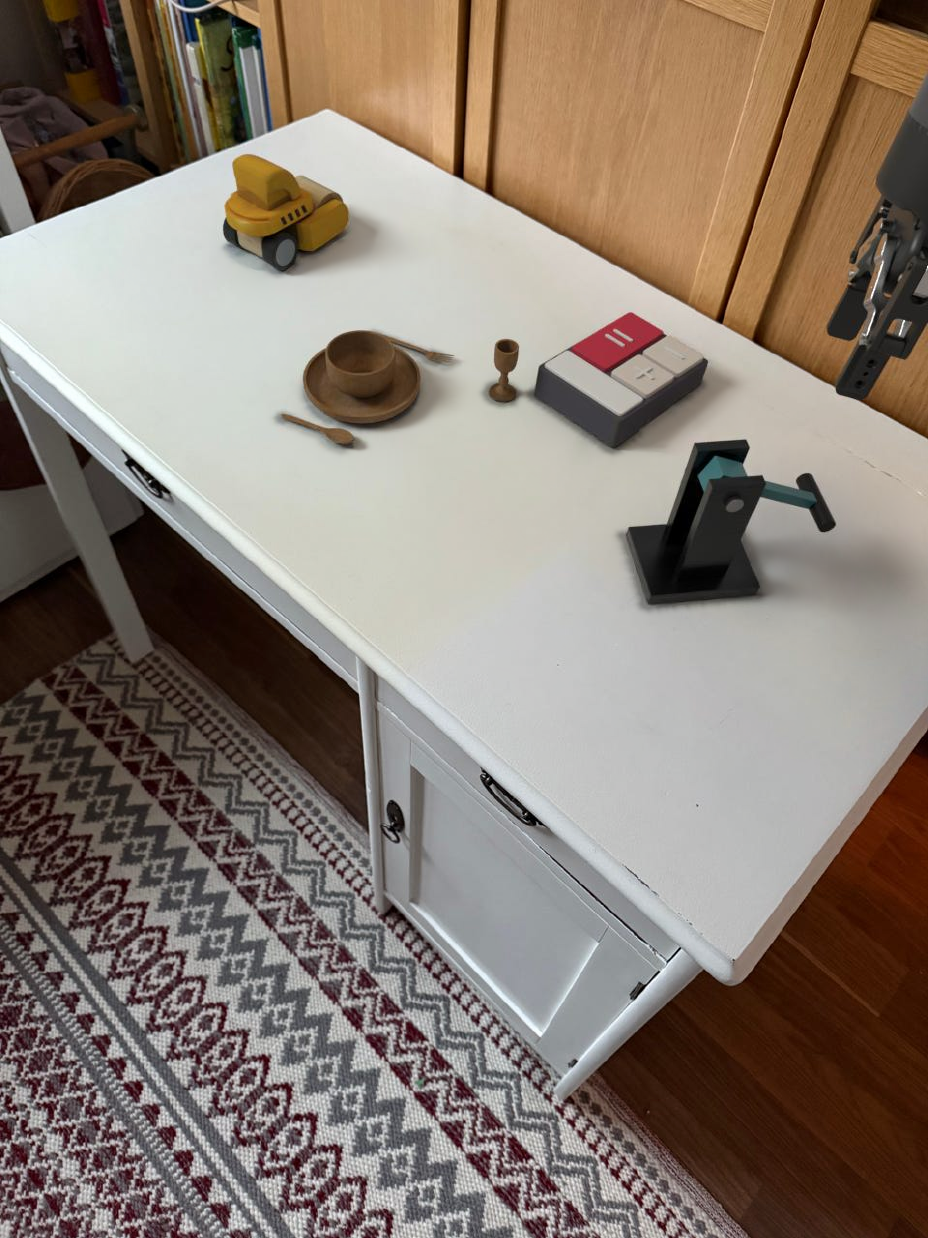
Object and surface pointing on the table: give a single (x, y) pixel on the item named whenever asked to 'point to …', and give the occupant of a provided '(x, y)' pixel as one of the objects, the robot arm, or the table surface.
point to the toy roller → (280, 212)
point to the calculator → (619, 378)
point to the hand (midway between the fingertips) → (843, 363)
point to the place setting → (378, 379)
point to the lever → (777, 490)
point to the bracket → (701, 534)
